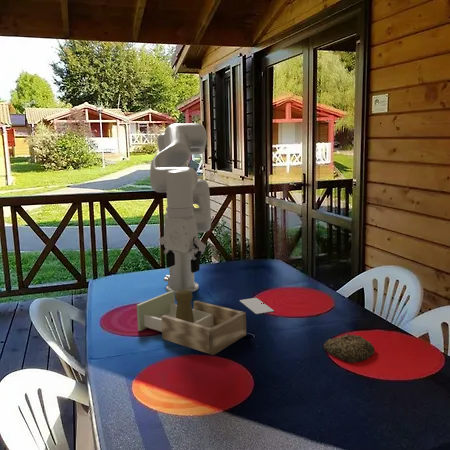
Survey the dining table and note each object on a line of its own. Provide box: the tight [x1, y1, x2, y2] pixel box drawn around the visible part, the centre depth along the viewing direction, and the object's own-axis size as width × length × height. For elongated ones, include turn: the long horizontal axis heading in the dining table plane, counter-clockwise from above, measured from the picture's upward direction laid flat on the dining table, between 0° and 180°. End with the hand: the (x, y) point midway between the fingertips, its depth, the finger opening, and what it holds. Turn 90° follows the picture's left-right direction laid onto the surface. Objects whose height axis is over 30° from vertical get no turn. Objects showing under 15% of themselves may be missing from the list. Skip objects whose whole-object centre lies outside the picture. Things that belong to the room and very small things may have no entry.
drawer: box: [136, 290, 214, 333], centre depth 146 cm, size 18×16×8 cm
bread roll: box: [323, 333, 375, 364], centre depth 129 cm, size 13×12×5 cm
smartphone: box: [238, 297, 275, 315], centre depth 165 cm, size 7×1×15 cm
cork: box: [175, 290, 194, 323], centre depth 144 cm, size 6×6×11 cm
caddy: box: [161, 300, 247, 356], centre depth 140 cm, size 19×16×7 cm
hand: (182, 268), depth 142 cm, fingers open, 9 cm apart
